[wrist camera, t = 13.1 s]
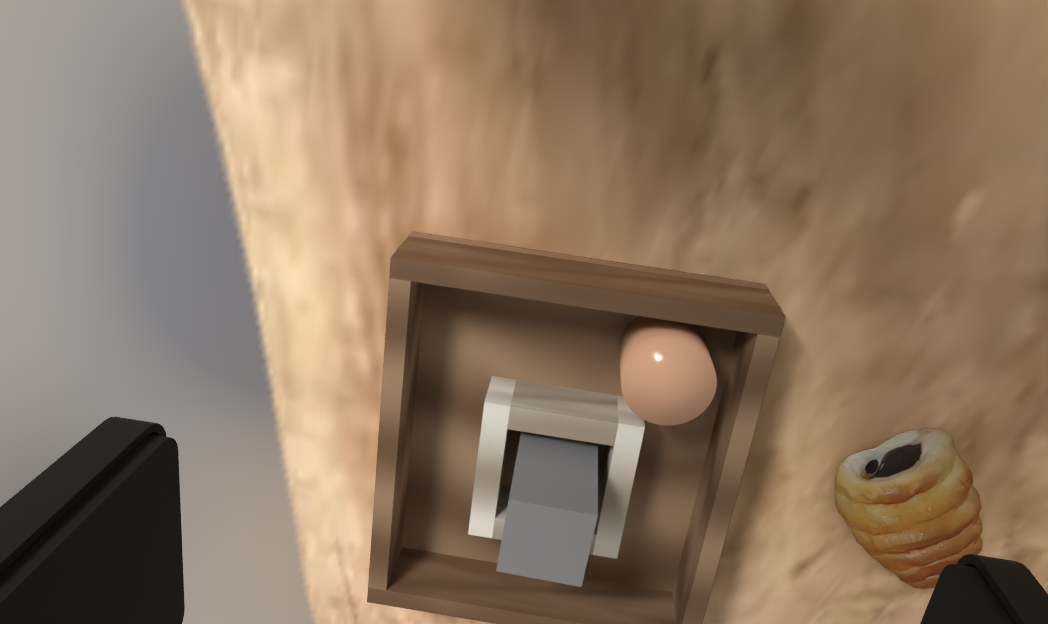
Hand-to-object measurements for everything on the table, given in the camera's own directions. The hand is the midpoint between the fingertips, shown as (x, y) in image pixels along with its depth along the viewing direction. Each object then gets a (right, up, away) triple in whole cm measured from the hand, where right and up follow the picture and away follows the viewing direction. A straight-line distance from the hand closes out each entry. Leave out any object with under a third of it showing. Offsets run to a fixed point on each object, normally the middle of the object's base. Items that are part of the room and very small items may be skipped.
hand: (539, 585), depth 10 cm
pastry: (+21, -7, +34) cm, 40 cm away
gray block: (+2, -4, +33) cm, 34 cm away
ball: (+7, +1, +31) cm, 31 cm away
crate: (+2, -3, +34) cm, 34 cm away
